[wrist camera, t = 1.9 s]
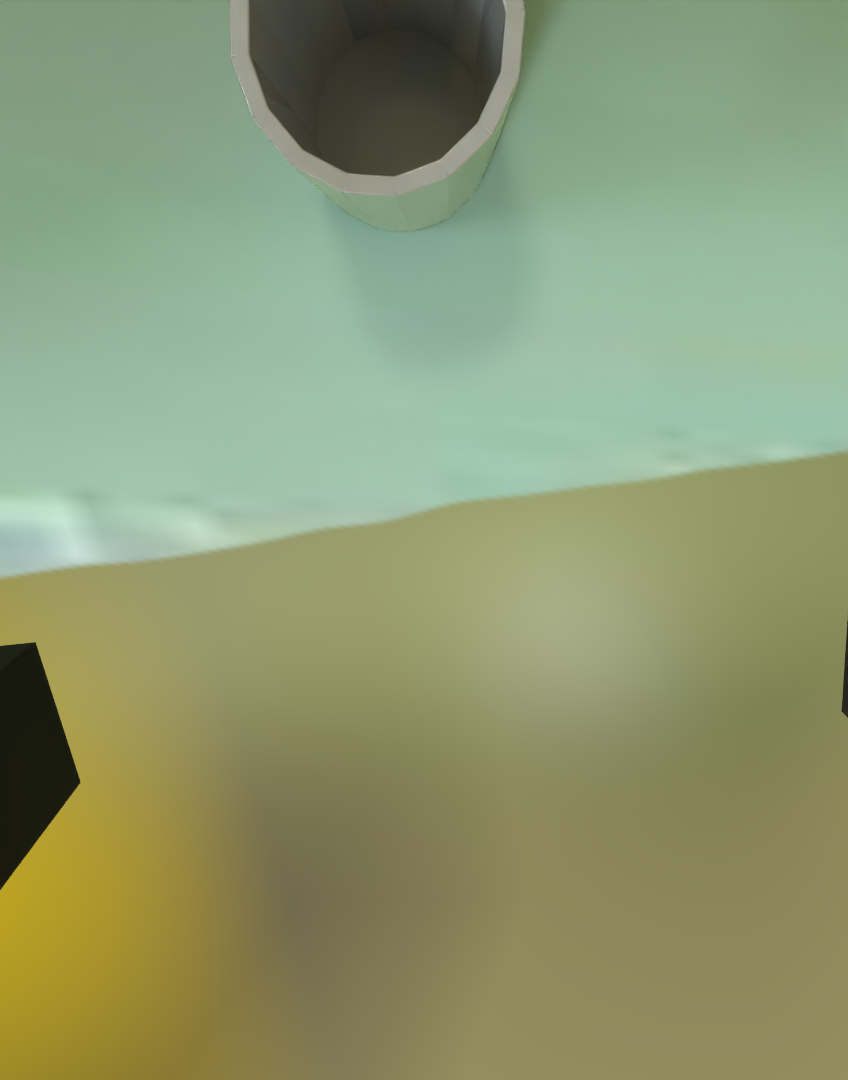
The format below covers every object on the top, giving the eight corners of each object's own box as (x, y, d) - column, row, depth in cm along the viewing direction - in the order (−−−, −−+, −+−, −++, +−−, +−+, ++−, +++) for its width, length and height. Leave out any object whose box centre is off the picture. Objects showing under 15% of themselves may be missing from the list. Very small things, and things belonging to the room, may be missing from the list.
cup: (305, 225, 30) (231, 185, 19) (308, 13, 27) (226, -162, 17) (484, 237, 30) (507, 204, 19) (502, 27, 27) (540, -140, 17)
